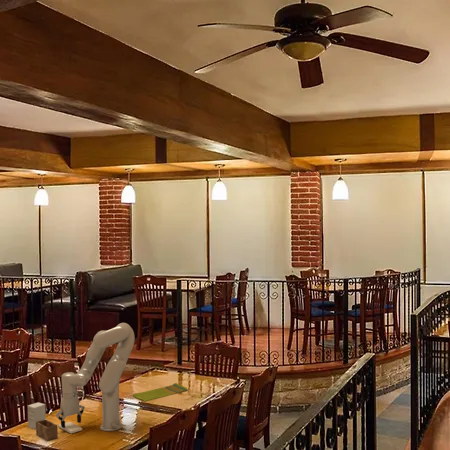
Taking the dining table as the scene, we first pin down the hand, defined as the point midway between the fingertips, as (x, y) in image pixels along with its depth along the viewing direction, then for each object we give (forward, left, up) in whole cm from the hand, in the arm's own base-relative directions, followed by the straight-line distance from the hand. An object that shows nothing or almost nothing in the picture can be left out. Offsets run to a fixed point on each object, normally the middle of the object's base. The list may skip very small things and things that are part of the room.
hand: (71, 424), depth 319 cm
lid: (+1, +1, -2) cm, 2 cm away
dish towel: (+18, -76, -3) cm, 78 cm away
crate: (0, +15, -3) cm, 15 cm away
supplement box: (+20, +12, -3) cm, 23 cm away
